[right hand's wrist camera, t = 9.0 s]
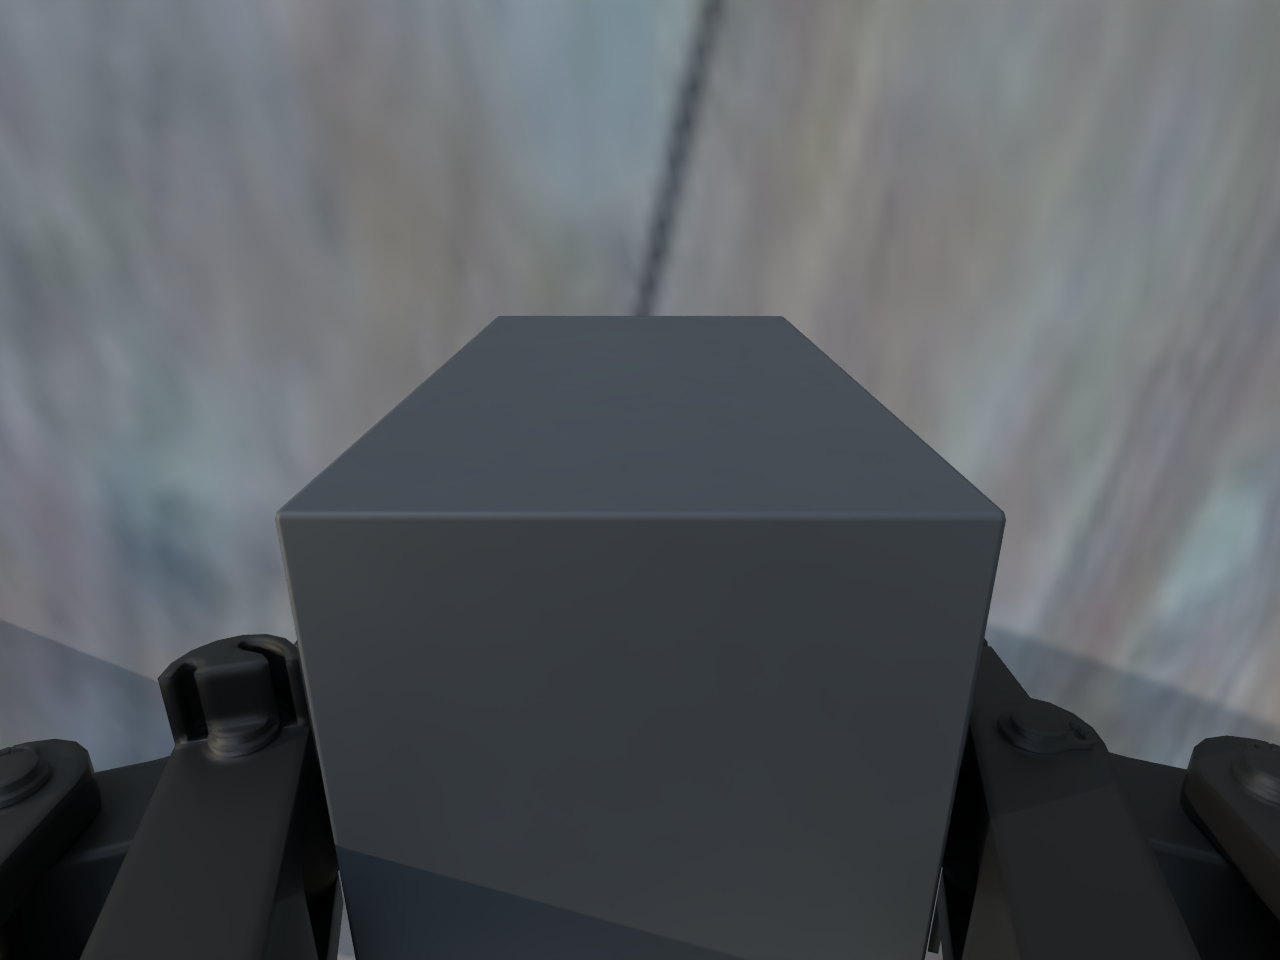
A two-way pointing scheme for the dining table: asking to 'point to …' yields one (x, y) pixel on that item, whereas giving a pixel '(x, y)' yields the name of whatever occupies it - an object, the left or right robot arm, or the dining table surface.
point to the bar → (640, 650)
